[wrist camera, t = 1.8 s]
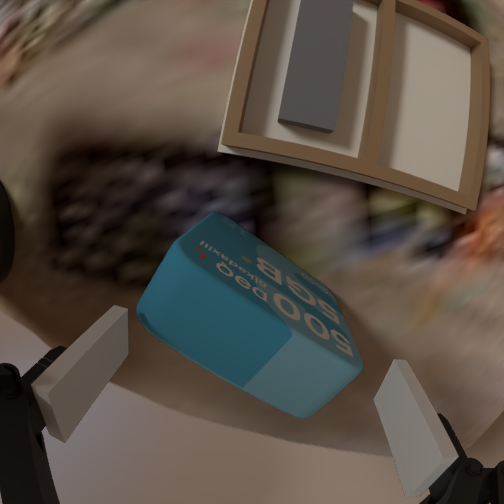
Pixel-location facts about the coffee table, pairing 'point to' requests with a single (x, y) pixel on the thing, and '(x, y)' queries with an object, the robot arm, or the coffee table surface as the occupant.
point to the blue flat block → (250, 318)
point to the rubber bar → (317, 65)
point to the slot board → (373, 101)
